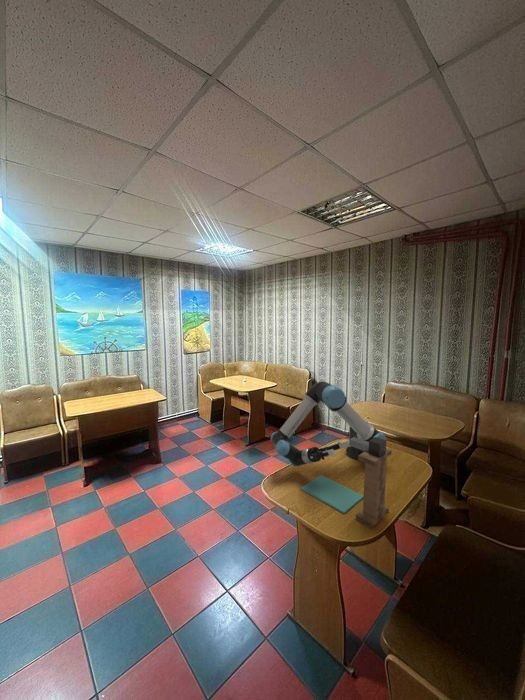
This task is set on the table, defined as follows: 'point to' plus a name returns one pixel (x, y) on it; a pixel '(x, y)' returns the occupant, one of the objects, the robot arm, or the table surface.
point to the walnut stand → (373, 489)
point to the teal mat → (332, 494)
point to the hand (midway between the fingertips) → (342, 447)
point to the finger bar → (370, 446)
